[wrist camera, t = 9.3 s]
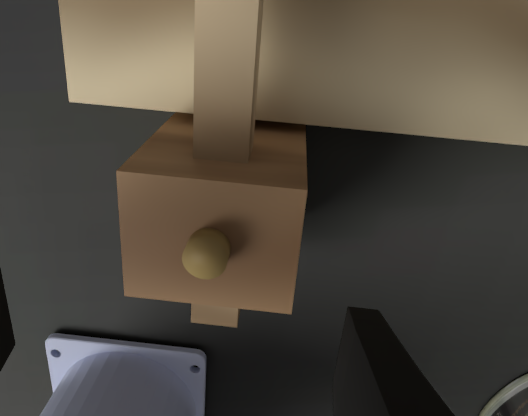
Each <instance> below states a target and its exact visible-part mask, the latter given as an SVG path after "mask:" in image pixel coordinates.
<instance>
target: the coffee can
mask: <svg viewBox="0 0 528 416" xmlns="http://www.w3.org/2000/svg"><path fill="white" fill-rule="evenodd" d="M479 416H528V373H527V374H525V375H523V376H521V377H519V378H517V379H515V380H514V381H512V382H511V383H509V384H508V385H507V386H505V387H504V388H502V389H501V390H500V391H499V392H497V393H496V394H495V395H494V396H493V397H492V398H491V399H490V400H489V402H488V403H487V404H486V405H485V406H484V408H483V409H482V411H481V412H480V414H479Z"/></svg>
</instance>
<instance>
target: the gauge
mask: <svg viewBox="0 0 528 416" xmlns="http://www.w3.org/2000/svg"><path fill="white" fill-rule="evenodd" d="M263 2H264V0H195V28H194V112H193V114H191V113H181V112H176V113H175V114H174V115H172V116H171V117H170V118H169V119H168V120H167V121H166V122H165V123H164V124H163V125H162V126H161V127H160V128H159V129H158V130H157V131H156V132H155V133H154V134H153V135H152V136H151V137H150V138H149V139H148V140H147V141H146V142H145V143H144V144H143V145H142V146H141V147H140V148H139V149H138V150H137V151H136V152H135V153H134V154H133V155H132V156H131V157H130V158H129V159H128V160H127V161H126V162H125V163H124V164H123V165H122V166H121V167H120V168H119V169H118V170H117V171H116V175H117V191H118V206H119V221H120V237H121V252H122V267H123V282H124V296H129V297H138V298H147V299H156V300H165V301H174V302H184V303H191V322H192V323H201V324H210V325H219V326H228V327H237V325H238V320H239V314H240V309H247V310H257V311H266V312H275V313H284V314H292V306H293V298H294V291H295V283H296V275H297V268H298V260H299V252H300V245H301V237H302V229H303V222H304V214H305V206H306V199H307V191H308V187H307V156H306V125H305V124H295V123H285V122H274V121H264V120H255V114H256V100H257V86H258V72H259V58H260V44H261V30H262V16H263Z"/></svg>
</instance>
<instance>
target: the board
mask: <svg viewBox="0 0 528 416" xmlns="http://www.w3.org/2000/svg"><path fill="white" fill-rule="evenodd" d="M58 2H59V11H60V21H61V30H62V40H63V49H64V58H65V68H66V77H67V87H68V96H69V102H77V103H87V104H97V105H108V106H118V107H129V108H139V109H149V110H160V111H170V112H181V113H191V114H193V112H194V28H195V0H58ZM255 120H264V121H274V122H285V123H295V124H305V125H316V126H326V127H337V128H347V129H357V130H368V131H378V132H389V133H399V134H409V135H420V136H430V137H441V138H451V139H461V140H472V141H482V142H493V143H503V144H513V145H524V146H528V0H264V2H263V16H262V30H261V44H260V58H259V72H258V86H257V100H256V114H255Z"/></svg>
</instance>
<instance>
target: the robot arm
mask: <svg viewBox="0 0 528 416" xmlns="http://www.w3.org/2000/svg"><path fill="white" fill-rule="evenodd" d="M14 346H15V339H14V334H13V329H12V324H11V319H10V314H9V309H8V304H7V299H6V294H5V289H4V284H3V279H2V274H1V269H0V371H1V369H2V368H3V366H4V364H5V362H6V360H7V359H8V357H9V355H10V353H11V351H12V349H13V348H14ZM45 347H46V353H47V359H48V365H49V370H50V376H51V382H52V388H53V395H52V396H51V398H50V399H49V401H48V403H47V404H46V406H45V408H44V409H43V411H42V413H41V414H40V416H205V389H206V354H205V353H204V352H203V351H201V350H199V349H193V348H185V347H176V346H167V345H158V344H149V343H140V342H131V341H122V340H113V339H104V338H95V337H86V336H78V335H69V334H60V333H53V334H50V335H49V337H48V338H47V339H46V341H45ZM57 350H58V351H57ZM193 365H196V366H198V367H194V366H193ZM333 414H334V416H455V415H454V414H453V413H452V412H451V410H450V409H449V408H448V407H447V405H446V404H445V403H444V402H443V400H442V399H441V398H440V396H439V395H438V394H437V392H436V391H435V390H434V388H433V387H432V386H431V384H430V383H429V382H428V380H427V379H426V378H425V376H424V375H423V374H422V372H421V371H420V370H419V368H418V367H417V365H416V364H415V363H414V361H413V360H412V358H411V357H410V356H409V354H408V353H407V351H406V350H405V348H404V347H403V345H402V344H401V343H400V341H399V340H398V338H397V337H396V335H395V334H394V332H393V331H392V329H391V328H390V326H389V325H388V323H387V322H386V320H385V319H384V317H383V316H382V314H381V313H380V312H379V311H378V310H374V309H365V308H356V307H348V308H347V313H346V318H345V323H344V328H343V333H342V338H341V343H340V348H339V353H338V358H337V363H336V368H335V373H334V378H333Z"/></svg>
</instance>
